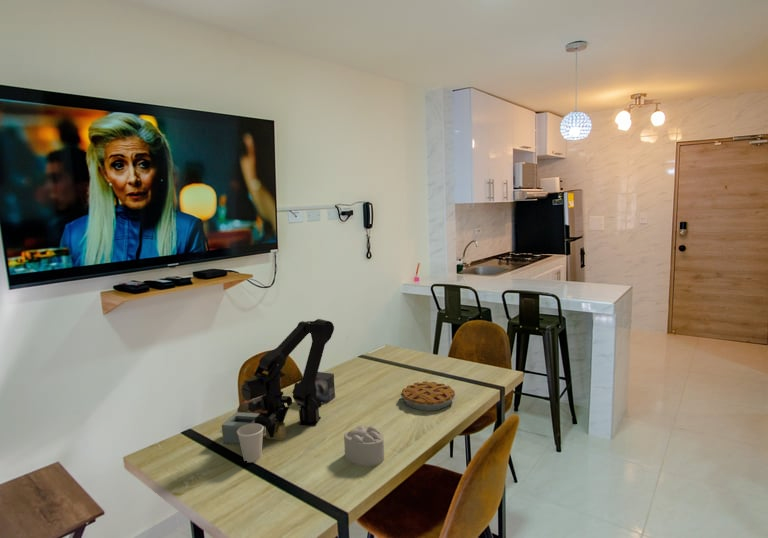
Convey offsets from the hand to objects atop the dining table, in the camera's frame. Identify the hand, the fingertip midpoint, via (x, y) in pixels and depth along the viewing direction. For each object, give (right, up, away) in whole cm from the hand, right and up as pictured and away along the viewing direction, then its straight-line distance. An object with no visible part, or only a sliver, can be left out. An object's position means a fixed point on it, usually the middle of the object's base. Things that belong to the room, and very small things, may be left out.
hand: (275, 433), depth 168 cm
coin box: (-11, -2, +1) cm, 11 cm away
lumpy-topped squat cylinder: (+33, -3, -15) cm, 36 cm away
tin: (-11, 0, +16) cm, 19 cm away
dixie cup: (-5, -4, -13) cm, 14 cm away
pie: (+56, +4, +26) cm, 62 cm away
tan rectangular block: (0, -2, 0) cm, 2 cm away
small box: (+12, +3, +32) cm, 34 cm away
